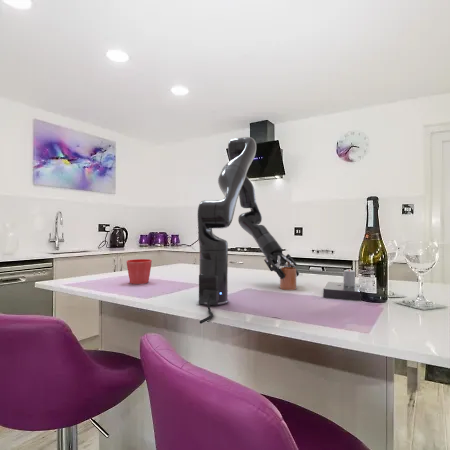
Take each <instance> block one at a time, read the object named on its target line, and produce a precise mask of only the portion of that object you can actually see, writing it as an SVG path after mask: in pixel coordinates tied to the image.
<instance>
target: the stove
mask: <svg viewBox="0 0 450 450" xmlns="http://www.w3.org/2000/svg"><path fill="white" fill-rule="evenodd" d="M359 284H360V283H355V286H354V287H348V286H344V282H340V281H339V282H338V281H327V283H326V285H325V286H324V288H323V295H322V296H323V298H324V299H334V300H335V299H337V300H348V301H359V302H362V301H361V300H362V295H361V296H360V291H359Z"/></svg>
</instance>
